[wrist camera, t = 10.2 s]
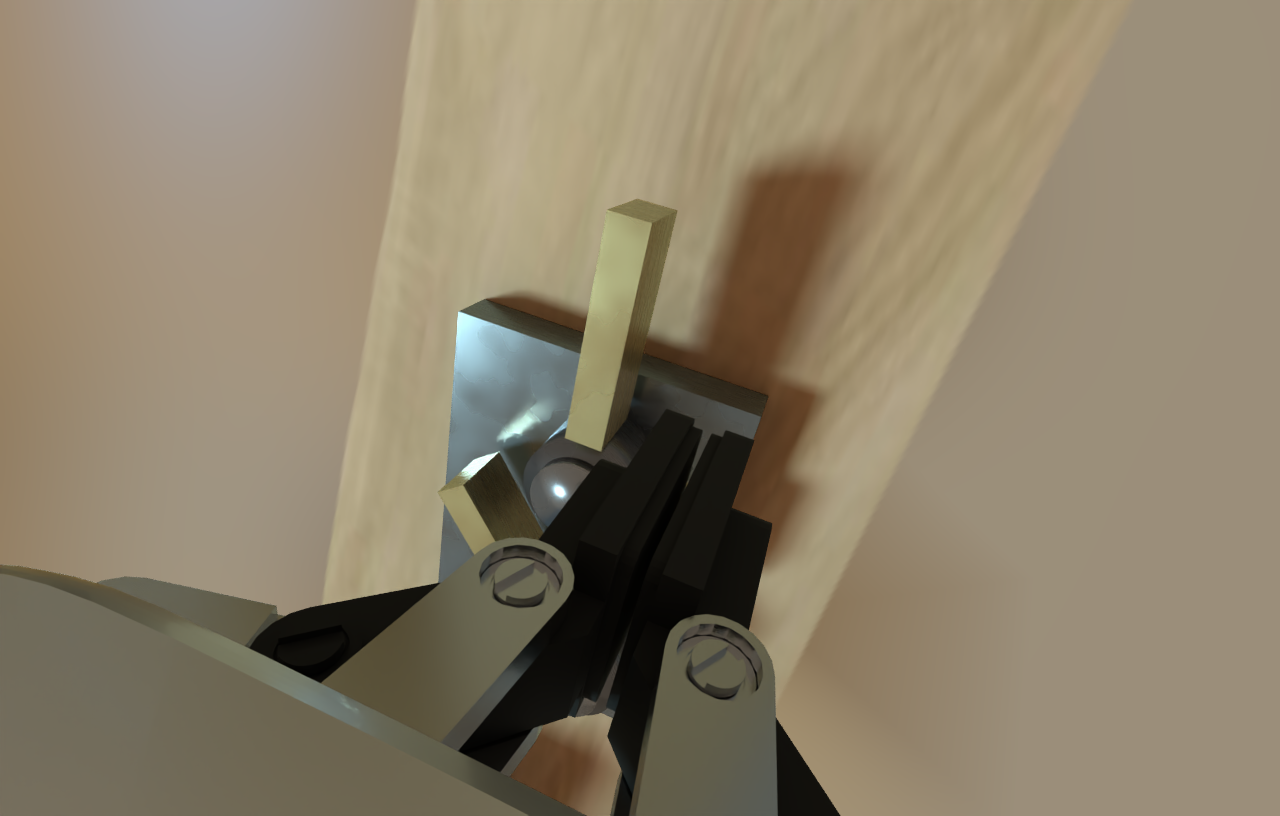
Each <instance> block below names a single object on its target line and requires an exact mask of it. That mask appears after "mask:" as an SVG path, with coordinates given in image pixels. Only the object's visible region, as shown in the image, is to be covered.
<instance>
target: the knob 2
mask: <svg viewBox="0 0 1280 816" xmlns="http://www.w3.org/2000/svg"><path fill="white" fill-rule="evenodd" d="M438 494H439V495H440V497H441V499H442V501H443V502H444V504H445V506H446V507H447V509H448V511H449V513H450V514H451V516H452V518H453V519H454V521H455V523H456V524H457V526H458V528H459V530H460V531H461V533H462V535H463V536H464V538H465V540H466V541H467V543H468V545H469V547H470V548H471V550H472V552H473V553H474V555H475V554H476V553H477V552H478V551H480V550H481V549H483V548H484V547H486V546H488V545H489V544H491V543H493V542H496V541H500V540H503V539H506V538H521V537H523V538H530V539H536V540H539V538H540V537H541V536H542V534H543V531H542V530H541V528H540V526H539V524H538V522H537V520H536V519H535V517H534V515H533V513H532V511H531V509H530V507H529V506H528V504H527V502H526V500H525V498H524V496H523V495H522V493H521V491H520V489H519V487H518V485H517V484H516V482H515V480H514V478H513V476H512V474H511V472H510V471H509V469H508V467H507V465H506V463H505V461H504V460H503V458H502V456H501V454H500V452H497V453H493V454H490V455H487V456H483V457H480V458H477V459H475V460H473V461H472V462H471V463H470V464H469V465H468V466H467V467H466V468H464V469H463V470H462V471H461V472H460V473H459V474H458V475H457V476H455V477H454V478H453V479H452V480H451V481H450V482H449V483H447V484H446V485H445V486H444V487H443V488H442V489H441V490H440V491H438ZM626 638H627V636H626ZM625 641H626V639H625ZM625 641H624V643H623V645H622V647H621V650H620V652H619V654H618V656H617V658H616V661H615V663H614V665H613V667H612V669H611V672H610V674H609V676H608V678H607V680H606V683H605V685H604V687H603V689H602V691H601V694H600V696H599V698H598V700H597V702H596V703H595V702H593V701H591V700H589V699H587V698H584V700H583V702H582V704H581V706H580V708H579V710H578V713H577V715H576V717H579V716H585V715H595V714H599V713H601V712H603V711H605V710H606V709H607V708H606V705H607V701H608V698H609V694H610V691H611V688H612V684H613V681H614V678H615V674H616V671H617V668H618V664H619V661H620V658H621V654H622V651H623V648H624V644H625ZM568 716H570V715H568Z"/></svg>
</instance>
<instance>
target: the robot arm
mask: <svg viewBox="0 0 1280 816" xmlns="http://www.w3.org/2000/svg"><path fill="white" fill-rule="evenodd" d="M694 421H695V419H694V418H691V417H689V416H686V415H683V414H680V413H677V412H675V411H672V410H669V409H666V410H665V411H664V413H663V414H662V416H661V417H660V419H659V420H658V422H657V423H656V425H655V426H654V428H653V429H652V431H651V432H650V434H649V435H648V437H647V438H646V440H645V441H644V443H643V444H642V446H641V447H640V449H639V450H638V452H637V453H636V455H635V456H634V458H633V459H632V461H631V462H630V464H629V465H628V467H627V468H626V467H623V466H620V465H618V464H615V463H612V462H610V461H607V460H605V459H601V460H599V461H598V462H597V463H596V465H595V466H594V467H593V469H592V470H591V471H590V472H589V474H588V475H587V476H586V478H585V479H584V480H583V482H582V483H581V484H580V486H579V487H578V488H577V490H576V491H575V492H574V494H573V495H572V496H571V497H570V499H569V500H568V501H567V503H566V504H565V505H564V507H563V508H562V509H561V511H560V512H559V513H558V515H557V516H556V517H555V518H554V520H553V521H552V522H551V524H550V525H549V526H548V528H547V529H546V530H545V532H544V533H543V534H542V536H541V537H540V538H539V540H536V539H530V538H523V537H521V538H506V539H503V540H500V541H496V542H493V543H491V544H489V545H488V546H486V547H484V548H483V549H481V550H480V551H478V552H477V553H476V554H475V555H474V556H472V557H471V558H470V559H469V560H468V561H466V562H465V563H464V564H463V565H462V566H460V567H459V568H458V569H457V570H456V571H454V572H453V573H452V574H451V575H450V576H449V577H447V578H446V579H445V580H444V581H443V582H441V583H436V584H431V585H425V586H420V587H415V588H410V589H404V590H399V591H394V592H389V593H383V594H378V595H373V596H367V597H362V598H357V599H352V600H346V601H341V602H336V603H331V604H325V605H320V606H315V607H310V608H306V609H303V610H300V611H296V612H293V613H290V614H288V615H287V616H282V615H278V614H277V607H276V606H275V605H270V604H265V603H260V602H256V601H251V600H247V599H242V598H237V597H233V596H228V595H223V594H219V593H214V592H209V591H204V590H200V589H195V588H191V587H186V586H181V585H177V584H172V583H167V582H162V581H157V580H153V579H148V578H140V577H121V578H115V579H109V580H104V581H100V582H98V583H94V582H91V581H88V580H84V579H81V578H78V577H74V576H69V575H64V574H60V573H54V572H49V571H45V570H39V569H33V568H28V567H23V566H13V565H0V816H586V815H584V814H582V813H580V812H578V811H576V810H574V809H572V808H570V807H568V806H566V805H564V804H562V803H560V802H558V801H556V800H554V799H552V798H550V797H548V796H546V795H544V794H542V793H540V792H538V791H536V790H534V789H532V788H530V787H528V786H526V785H524V784H522V783H520V782H518V781H516V780H514V779H512V778H510V776H511V774H512V773H513V771H514V770H515V769H516V767H517V766H518V765H519V763H520V762H521V760H522V759H523V758H524V756H525V755H526V754H527V752H528V751H529V750H530V748H531V747H532V745H533V744H534V743H535V741H536V739H537V737H538V735H539V734H540V732H541V730H542V726H543V725H545V724H548V723H551V722H554V721H557V720H560V719H563V718H567V717H568V715H570V716H572V717H574V718H575V717H576V715H577V713H578V710H579V708H580V706H581V704H582V702H583V700H584V698H587V699H589V700H591V701H593V702H595V703H596V702H597V700H598V698H599V696H600V694H601V691H602V689H603V687H604V685H605V683H606V680H607V678H608V676H609V674H610V672H611V669H612V667H613V665H614V663H615V661H616V658H617V656H618V654H619V652H620V650H621V647H622V645H623V643H624V641H625V639H626V641H625V644H624V648H623V651H622V654H621V658H620V661H619V664H618V668H617V671H616V674H615V678H614V681H613V684H612V688H611V691H610V694H609V698H608V701H607V705H606V708H608V709H610V710H613V711H615V713H614V717H613V720H612V723H611V726H610V729H609V732H608V739H609V741H610V744H611V746H612V748H613V751H614V753H615V755H616V758H617V760H618V762H619V765H620V767H621V772H620V775H619V778H618V781H617V785H616V790H615V795H614V800H613V804H612V809H611V814H610V816H840V814H839V813H838V811H837V810H836V808H835V807H834V805H833V804H832V802H831V801H830V799H829V797H828V796H827V794H826V793H825V791H824V790H823V789H822V787H821V785H820V784H819V782H818V781H817V779H816V778H815V776H814V775H813V773H812V772H811V770H810V769H809V767H808V766H807V764H806V763H805V761H804V760H803V758H802V756H801V755H800V753H799V752H798V750H797V749H796V747H795V746H794V744H793V743H792V741H791V740H790V738H789V737H788V735H787V734H786V732H785V731H784V729H783V727H782V726H781V724H780V723H779V721H778V720H777V718H776V706H775V674H774V669H773V664H772V660H771V658H770V656H769V654H768V652H767V650H766V649H765V647H764V645H763V644H762V643H761V642H760V641H759V640H758V639H757V638H756V636H755V635H754V634H753V633H751V632H750V631H749V626H750V622H751V618H752V613H753V609H754V604H755V600H756V596H757V591H758V587H759V582H760V578H761V573H762V569H763V565H764V560H765V556H766V551H767V547H768V543H769V538H770V534H771V529H772V523H770V522H767V521H765V520H762V519H759V518H757V517H754V516H751V515H749V514H746V513H744V512H741V511H738V510H736V509H733V508H732V505H733V502H734V499H735V496H736V493H737V490H738V487H739V484H740V481H741V478H742V475H743V472H744V469H745V466H746V463H747V460H748V458H749V455H750V452H751V449H752V446H753V443H754V440H753V439H750V438H747V437H745V436H742V435H739V434H736V433H733V432H731V431H728V430H725V432H724V435H723V437H721V436H718V435H716V434H713V433H712V434H711V436H710V438H709V440H708V442H707V444H706V446H705V448H704V450H703V453H702V455H701V457H700V459H699V461H698V463H697V465H696V467H695V469H694V471H693V473H692V476H691V478H690V480H689V482H688V484H687V481H688V478H689V475H690V472H691V469H692V465H693V462H694V459H695V456H696V453H697V449H698V446H699V443H700V440H701V437H702V433H703V430H702V429H699V428H696V427H693V426H694ZM686 484H687V486H686ZM626 636H627V638H626Z"/></svg>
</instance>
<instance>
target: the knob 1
mask: <svg viewBox="0 0 1280 816" xmlns="http://www.w3.org/2000/svg"><path fill="white" fill-rule="evenodd" d="M676 214H677V210H674V209H671V208H667V207H664V206H660V205H657V204H653V203H650V202H647V201H643V200H640V199H636V200H633V201H630V202H627V203H625V204H622V205H619V206H616V207H614V208H611V209H608V210H607V213H606V219H605V224H604V229H603V235H602V240H601V246H600V251H599V256H598V262H597V267H596V273H595V278H594V283H593V289H592V294H591V300H590V305H589V310H588V316H587V321H586V327H585V332H584V337H583V343H582V348H581V353H580V359H579V364H578V370H577V375H576V380H575V386H574V391H573V397H572V402H571V407H570V413H569V418H568V419H567V420H566V421H565V422H564V423H563V424H562V425H561V426H560V427H559V428H558V429H557V430H556V431H555V432H554V434H553V435H552V436H551V437H550V438H549V439H548V440H547V441H546V442H545V443H544V444H543V445H542V446H541V447H540V448H539V449H538V450H537V451H536V452H535V453H534V454H533V455H532V456H531V458H530V459H529V461H528V462H527V465H526V467H525V471H524V477H523V484H524V491H525V494H526V497H527V500H528V502H529V504H530V506H531V508H532V510H533V511H534V513H535V514H536V515H537V517H538V518H539V519H540V520H541V521H542V522H543V523H544V524H545V525H546V526H547V527H548V526H549V525H550V524H551V522H552V521H553V520H554V518H555V517H556V516H557V515H558V513H559V512H560V511H561V509H562V508H563V507H564V505H565V504H566V503H567V501H568V500H569V499H570V497H571V496H572V495H573V494H574V492H575V491H576V490H577V488H578V487H579V486H580V484H581V483H582V482H583V480H584V479H585V478H586V476H587V475H588V474H589V472H590V471H591V470H592V469H593V467H594V466H595V465H596V463H597V462H598V461H599V460H601V459H605V460H607V461H610V462H612V463H615V464H618V465H620V466H623V467H626V468H627V467H628V465H629V464H630V462H631V461H632V459H633V458H634V456H635V455H636V453H637V452H638V450H639V449H640V447H641V446H642V444H643V443H644V441H645V440H646V438H647V437H646V436H645V434H644V433H643V432H642V431H641V430H640V428H639V427H638V426H637V425H635V424H634V423H633V422H632V421H631V420H629V419H628V414H629V410H630V405H631V401H632V397H633V393H634V389H635V385H636V380H637V376H638V372H639V368H640V364H641V360H642V356H643V351H644V347H645V343H646V339H647V335H648V331H649V326H650V322H651V318H652V314H653V310H654V306H655V302H656V297H657V293H658V289H659V285H660V281H661V277H662V272H663V268H664V264H665V260H666V256H667V252H668V247H669V243H670V239H671V235H672V231H673V227H674V223H675V218H676Z"/></svg>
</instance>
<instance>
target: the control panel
mask: <svg viewBox="0 0 1280 816" xmlns="http://www.w3.org/2000/svg"><path fill="white" fill-rule="evenodd" d="M583 337H584V333H582V332H579V331H576V330H573V329H570V328H567V327H564V326H561V325H558V324H555V323H553V322H550V321H547V320H544V319H541V318H538V317H535V316H532V315H529V314H526V313H523V312H520V311H517V310H514V309H512V308H509V307H506V306H503V305H500V304H497V303H494V302H491V301H488V300H485V299H484V300H482V301H480V302H478V303H475V304H473V305H471V306H469V307H467V308H465V309H463V310H461V311H459V314H458V327H457V341H456V354H455V367H454V381H453V394H452V407H451V421H450V434H449V448H448V461H447V474H446V484H447V483H449V482H450V481H451V480H452V479H453V478H454V477H455V476H457V475H458V474H459V473H460V472H461V471H462V470H463V469H464V468H466V467H467V466H468V465H469V464H470V463H471V462H472V461H473V460H475V459H477V458H480V457H483V456H487V455H490V454H493V453H497V452H500V454H501V456H502V458H503V460H504V461H505V463H506V465H507V467H508V469H509V471H510V472H511V474H512V476H513V478H514V480H515V482H516V484H517V485H518V487H519V489H520V491H521V493H522V495H523V496H524V498H525V500H526V502H527V504H528V506H529V507H530V509H531V511H532V513H533V515H534V517H535V519H536V520H537V522H538V524H539V526H540V528H541V530H542V531H543V533H544V532H545V530H546V529H547V528H548V527H547V526H546V525H545V524H544V523H543V522H542V521H541V520H540V519H539V518H538V517H537V515H536V514H535V513H534V511H533V510H532V508H531V506H530V504H529V502H528V500H527V497H526V494H525V491H524V484H523V477H524V471H525V467H526V465H527V462H528V461H529V459H530V458H531V456H532V455H533V454H534V453H535V452H536V451H537V450H538V449H539V448H540V447H541V446H542V445H543V444H544V443H545V442H546V441H547V440H548V439H549V438H550V437H551V436H552V435H553V434H554V432H555V431H556V430H557V429H558V428H559V427H560V426H561V425H562V424H563V423H564V422H565V421H566V420H567V419H568V418H569V413H570V407H571V402H572V397H573V391H574V386H575V380H576V375H577V370H578V364H579V359H580V353H581V348H582V343H583ZM767 398H768V396H766V395H764V394H761V393H758V392H755V391H752V390H749V389H746V388H743V387H740V386H737V385H734V384H731V383H728V382H725V381H723V380H720V379H717V378H714V377H711V376H708V375H705V374H702V373H699V372H696V371H693V370H690V369H687V368H684V367H681V366H679V365H676V364H673V363H670V362H667V361H664V360H661V359H658V358H655V357H652V356H649V355H646V354H643V356H642V360H641V364H640V368H639V372H638V376H637V380H636V385H635V389H634V393H633V397H632V401H631V405H630V410H629V414H628V419H629V420H631V421H632V422H633V423H634V424H635V425H637V426H638V427H639V428H640V430H641V431H642V432H643V433H644V434H645V436H646V437H648V435H649V434H650V432H651V431H652V429H653V428H654V426H655V425H656V423H657V422H658V420H659V419H660V417H661V416H662V414H663V413H664V411H665V410H666V409H669V410H672V411H675V412H677V413H680V414H683V415H686V416H689V417H691V418H694V419H695V421H694V426H693V427H696V428H699V429H702V430H703V433H702V437H701V440H700V443H699V446H698V449H697V453H696V456H695V459H694V462H693V465H692V469H691V472H690V475H689V478H688V481H687V484H688V482H689V480H690V478H691V476H692V473H693V471H694V469H695V467H696V465H697V463H698V461H699V459H700V457H701V455H702V453H703V450H704V448H705V446H706V444H707V442H708V440H709V438H710V436H711V434H712V433H713V434H716V435H718V436H721V437H723V435H724V432H725V430H728V431H731V432H733V433H736V434H739V435H742V436H745V437H747V438H750V439H753V438H754V436H755V433H756V430H757V427H758V425H759V422H760V419H761V417H762V414H763V411H764V408H765V405H766V402H767ZM687 484H686V486H687ZM472 556H474V553H473V552H472V550H471V548H470V547H469V545H468V543H467V541H466V540H465V538H464V536H463V535H462V533H461V531H460V530H459V528H458V526H457V524H456V523H455V521H454V519H453V518H452V516H451V514H450V513H449V511H448V509H447V507H446V506H445V504H444V514H443V528H442V541H441V554H440V568H439V581H438V583H441V582H443V581H444V580H445V579H446V578H447V577H449V576H450V575H451V574H452V573H453V572H454V571H456V570H457V569H458V568H459V567H460V566H462V565H463V564H464V563H465V562H466V561H468V560H469V559H470V558H471V557H472ZM601 713H603V714H605V715H607V716H609V717H612V718H613V717H614V713H615V711H613V710H610V709H608V708H607V709H606V710H605V711H603V712H601Z"/></svg>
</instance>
